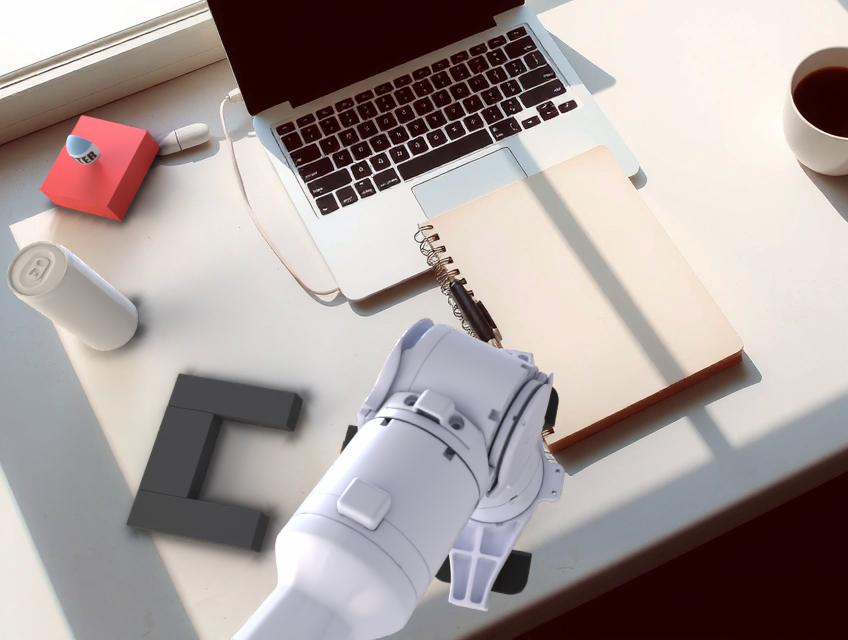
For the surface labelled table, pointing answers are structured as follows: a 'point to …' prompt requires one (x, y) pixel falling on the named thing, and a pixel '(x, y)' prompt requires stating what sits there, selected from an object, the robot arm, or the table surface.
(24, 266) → the beverage can
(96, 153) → the red slab
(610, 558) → the table surface
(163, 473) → the base pad
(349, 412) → the table surface
